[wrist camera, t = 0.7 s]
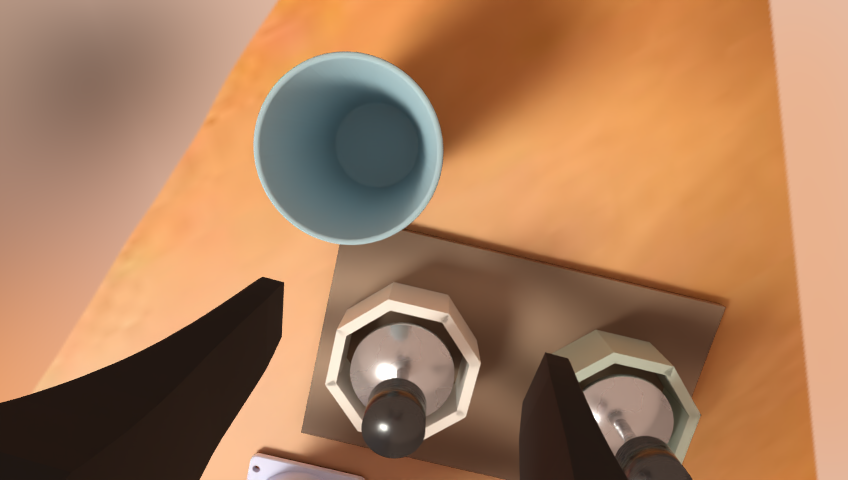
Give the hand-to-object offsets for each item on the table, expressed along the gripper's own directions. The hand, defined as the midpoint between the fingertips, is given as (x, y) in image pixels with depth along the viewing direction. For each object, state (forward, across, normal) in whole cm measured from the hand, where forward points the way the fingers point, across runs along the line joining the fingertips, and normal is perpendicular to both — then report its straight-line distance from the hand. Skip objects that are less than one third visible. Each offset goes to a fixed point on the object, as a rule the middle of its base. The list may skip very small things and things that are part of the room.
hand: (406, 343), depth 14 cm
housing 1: (+14, 0, +14) cm, 20 cm away
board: (+14, -6, +14) cm, 21 cm away
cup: (+18, +5, +3) cm, 19 cm away
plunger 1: (+11, 0, +13) cm, 17 cm away
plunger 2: (+11, -13, +13) cm, 21 cm away
